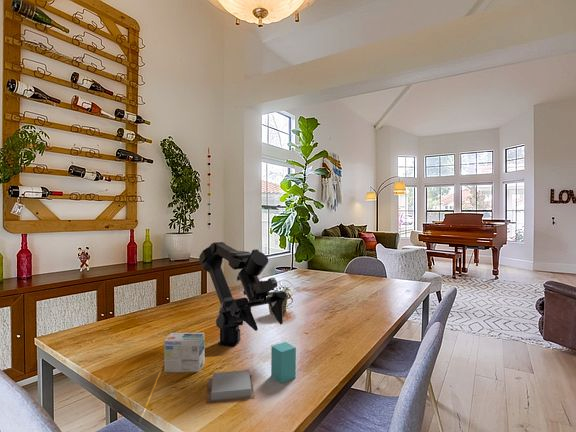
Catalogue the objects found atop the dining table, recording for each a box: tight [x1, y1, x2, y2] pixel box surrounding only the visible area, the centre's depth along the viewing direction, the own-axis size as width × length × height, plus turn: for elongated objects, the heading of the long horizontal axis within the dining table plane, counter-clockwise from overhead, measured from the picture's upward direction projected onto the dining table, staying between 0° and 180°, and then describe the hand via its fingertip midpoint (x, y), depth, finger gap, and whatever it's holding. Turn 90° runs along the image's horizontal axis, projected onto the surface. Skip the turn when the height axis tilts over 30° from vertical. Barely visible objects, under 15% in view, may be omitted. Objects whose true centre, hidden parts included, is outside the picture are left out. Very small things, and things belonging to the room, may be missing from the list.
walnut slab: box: [205, 374, 256, 404], centre depth 88 cm, size 12×12×2 cm
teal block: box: [270, 341, 297, 384], centre depth 94 cm, size 5×5×10 cm
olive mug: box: [266, 290, 294, 318], centre depth 152 cm, size 13×10×10 cm
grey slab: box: [211, 369, 251, 400], centre depth 88 cm, size 10×10×2 cm
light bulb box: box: [163, 331, 205, 373], centre depth 100 cm, size 11×7×11 cm, turn 92°
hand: (269, 327), depth 100 cm, fingers open, 9 cm apart
